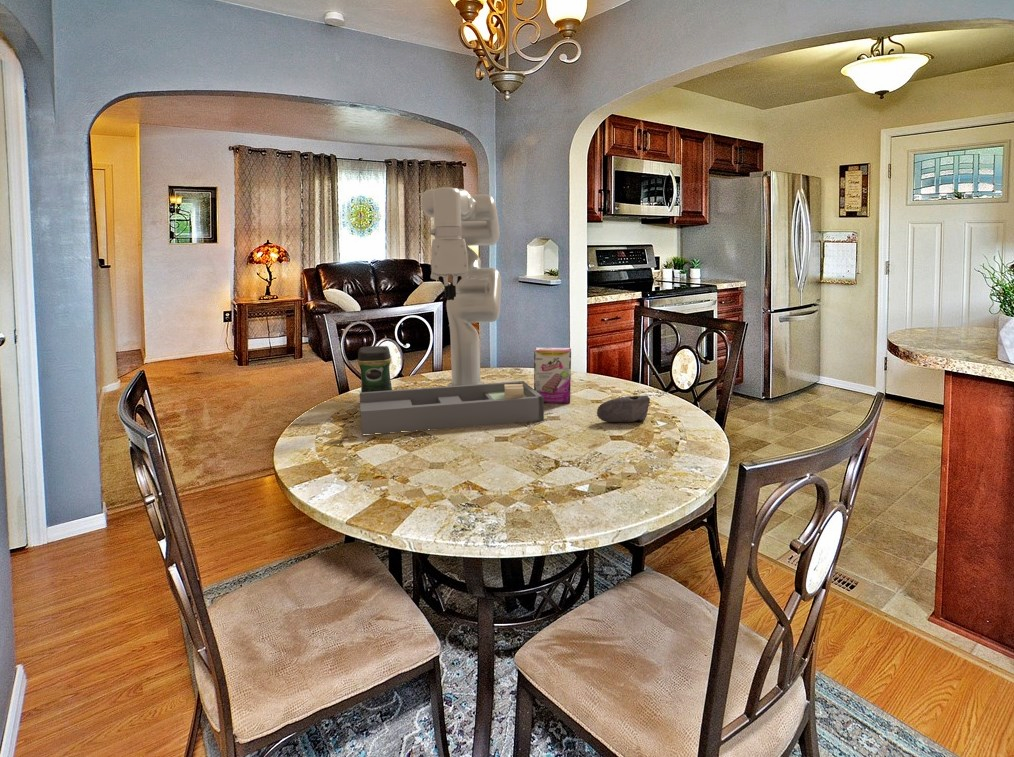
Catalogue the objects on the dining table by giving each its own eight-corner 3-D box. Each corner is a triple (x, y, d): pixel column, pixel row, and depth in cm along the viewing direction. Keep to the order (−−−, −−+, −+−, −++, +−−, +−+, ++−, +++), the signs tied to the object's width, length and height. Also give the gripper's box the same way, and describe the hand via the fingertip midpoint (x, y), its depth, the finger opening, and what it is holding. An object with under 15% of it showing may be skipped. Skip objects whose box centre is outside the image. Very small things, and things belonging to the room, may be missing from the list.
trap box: (361, 414, 179) (359, 392, 177) (523, 401, 190) (523, 380, 188) (362, 436, 159) (360, 411, 157) (543, 420, 170) (543, 397, 169)
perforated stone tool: (598, 425, 164) (599, 400, 163) (594, 420, 170) (594, 395, 168) (654, 423, 166) (654, 398, 164) (647, 417, 171) (648, 393, 169)
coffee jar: (395, 403, 190) (391, 343, 186) (392, 410, 183) (389, 348, 179) (363, 404, 190) (359, 344, 185) (359, 411, 182) (355, 349, 178)
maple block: (504, 401, 174) (504, 384, 173) (522, 401, 174) (522, 384, 173) (505, 406, 169) (505, 388, 168) (523, 406, 169) (523, 388, 168)
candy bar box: (533, 403, 188) (533, 350, 184) (534, 399, 192) (534, 347, 189) (570, 403, 186) (571, 350, 183) (570, 399, 191) (571, 347, 188)
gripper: (422, 234, 168) (425, 302, 172) (476, 233, 172) (478, 299, 176) (419, 234, 175) (422, 299, 179) (471, 233, 179) (473, 297, 183)
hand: (450, 299), depth 177 cm, fingers closed
